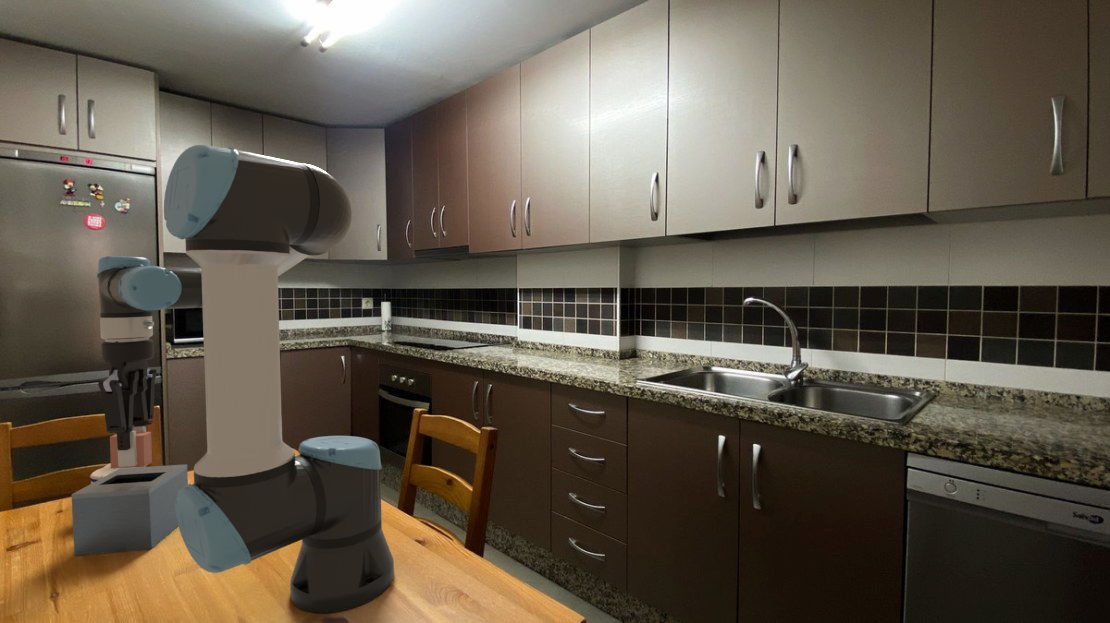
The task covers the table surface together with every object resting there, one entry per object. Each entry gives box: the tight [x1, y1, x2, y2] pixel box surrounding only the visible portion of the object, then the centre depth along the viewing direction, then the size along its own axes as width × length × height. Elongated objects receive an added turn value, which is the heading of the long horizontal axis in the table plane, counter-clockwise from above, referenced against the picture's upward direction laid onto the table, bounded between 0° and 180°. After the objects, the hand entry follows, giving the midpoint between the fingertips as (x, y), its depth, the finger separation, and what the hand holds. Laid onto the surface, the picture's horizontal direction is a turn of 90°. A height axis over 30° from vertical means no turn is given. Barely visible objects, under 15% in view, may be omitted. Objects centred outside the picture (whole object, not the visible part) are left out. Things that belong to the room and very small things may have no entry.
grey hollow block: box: [71, 464, 189, 557], centre depth 96 cm, size 13×12×11 cm
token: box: [109, 431, 153, 469], centre depth 96 cm, size 2×6×6 cm, turn 101°
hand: (133, 462), depth 96 cm, fingers closed on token, 2 cm apart
